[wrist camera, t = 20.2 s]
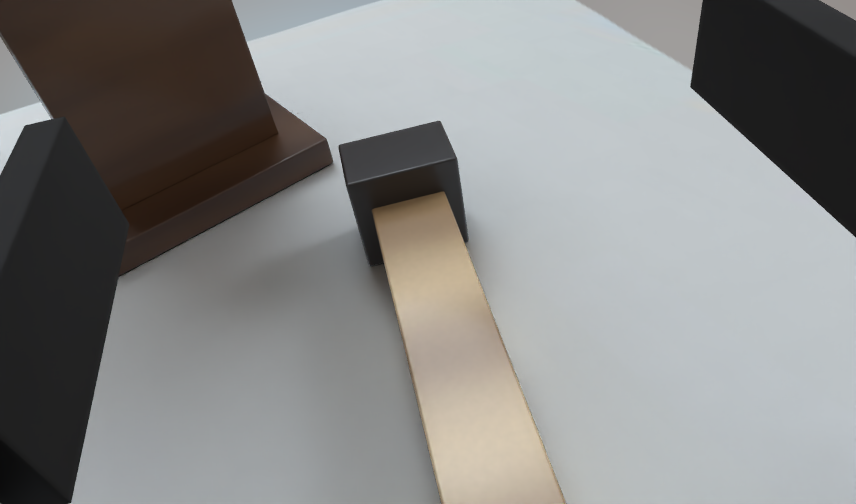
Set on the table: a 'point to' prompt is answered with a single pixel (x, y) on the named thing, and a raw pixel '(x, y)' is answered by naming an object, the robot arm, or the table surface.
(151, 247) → the wooden pedestal stand
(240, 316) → the table surface
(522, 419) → the long wooden bar
